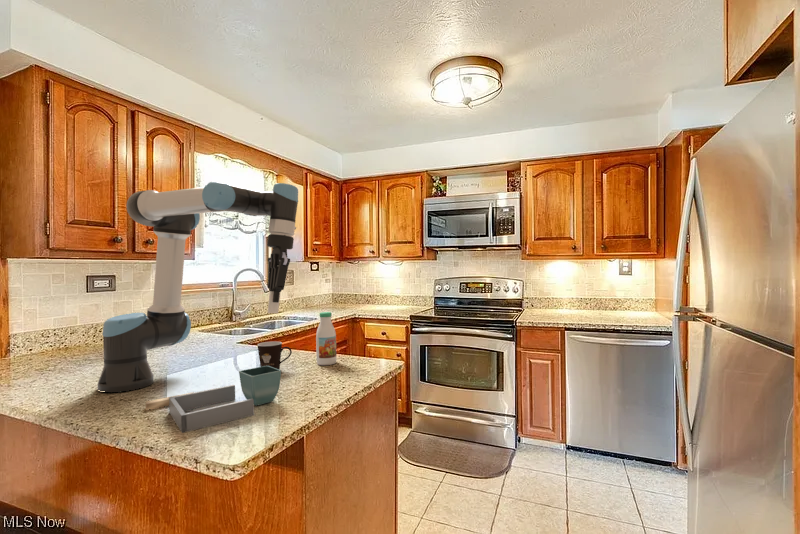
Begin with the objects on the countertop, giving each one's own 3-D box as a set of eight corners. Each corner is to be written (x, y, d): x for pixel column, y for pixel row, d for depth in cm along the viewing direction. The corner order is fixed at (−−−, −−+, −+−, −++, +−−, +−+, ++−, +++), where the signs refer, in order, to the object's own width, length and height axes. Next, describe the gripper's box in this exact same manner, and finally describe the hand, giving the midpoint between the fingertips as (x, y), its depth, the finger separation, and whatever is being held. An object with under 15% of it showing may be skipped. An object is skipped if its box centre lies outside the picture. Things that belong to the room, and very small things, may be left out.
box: (234, 398, 115) (233, 384, 115) (253, 414, 101) (253, 399, 101) (169, 412, 104) (169, 397, 104) (181, 432, 91) (181, 415, 91)
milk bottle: (312, 365, 152) (311, 313, 152) (323, 360, 159) (322, 311, 159) (329, 366, 149) (328, 313, 149) (340, 361, 157) (339, 311, 156)
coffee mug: (252, 372, 143) (252, 345, 143) (270, 366, 151) (270, 340, 151) (276, 376, 138) (275, 347, 138) (293, 370, 145) (293, 343, 145)
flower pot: (268, 394, 117) (267, 364, 117) (282, 401, 111) (282, 370, 111) (238, 402, 111) (238, 370, 111) (252, 410, 105) (251, 376, 105)
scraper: (147, 414, 104) (147, 406, 104) (144, 406, 110) (144, 398, 110) (209, 401, 114) (209, 394, 114) (202, 394, 120) (202, 387, 120)
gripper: (301, 236, 116) (292, 315, 115) (285, 238, 127) (277, 311, 126) (276, 232, 112) (267, 315, 111) (262, 234, 122) (253, 310, 121)
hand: (272, 312), depth 118 cm, fingers closed
